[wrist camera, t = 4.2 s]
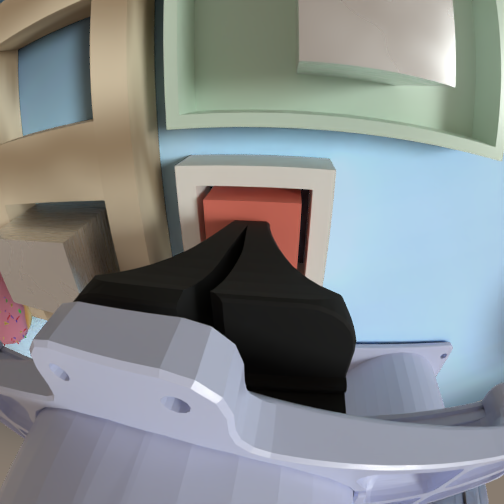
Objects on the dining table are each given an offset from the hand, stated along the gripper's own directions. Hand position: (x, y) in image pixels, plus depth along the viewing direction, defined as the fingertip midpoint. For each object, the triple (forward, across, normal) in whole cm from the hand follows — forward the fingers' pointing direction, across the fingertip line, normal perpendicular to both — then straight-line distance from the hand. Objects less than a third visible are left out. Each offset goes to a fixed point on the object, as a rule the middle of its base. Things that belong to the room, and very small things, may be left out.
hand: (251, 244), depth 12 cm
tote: (+2, -4, -10) cm, 10 cm away
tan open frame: (+2, +10, -4) cm, 11 cm away
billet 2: (+2, -4, -10) cm, 10 cm away
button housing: (+2, 0, 0) cm, 2 cm away
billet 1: (+3, +10, +1) cm, 10 cm away
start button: (+2, 0, 0) cm, 2 cm away
